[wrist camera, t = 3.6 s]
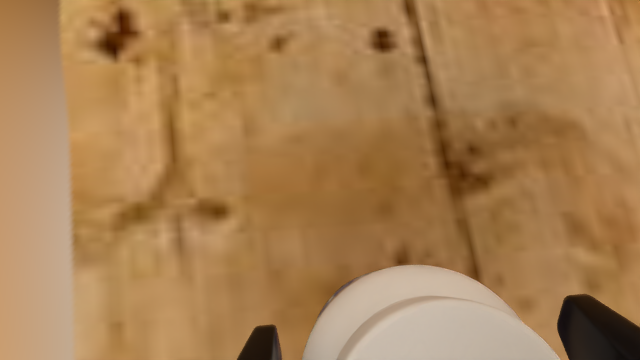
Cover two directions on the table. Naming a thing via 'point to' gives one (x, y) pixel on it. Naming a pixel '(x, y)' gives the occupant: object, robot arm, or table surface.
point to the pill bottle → (421, 320)
